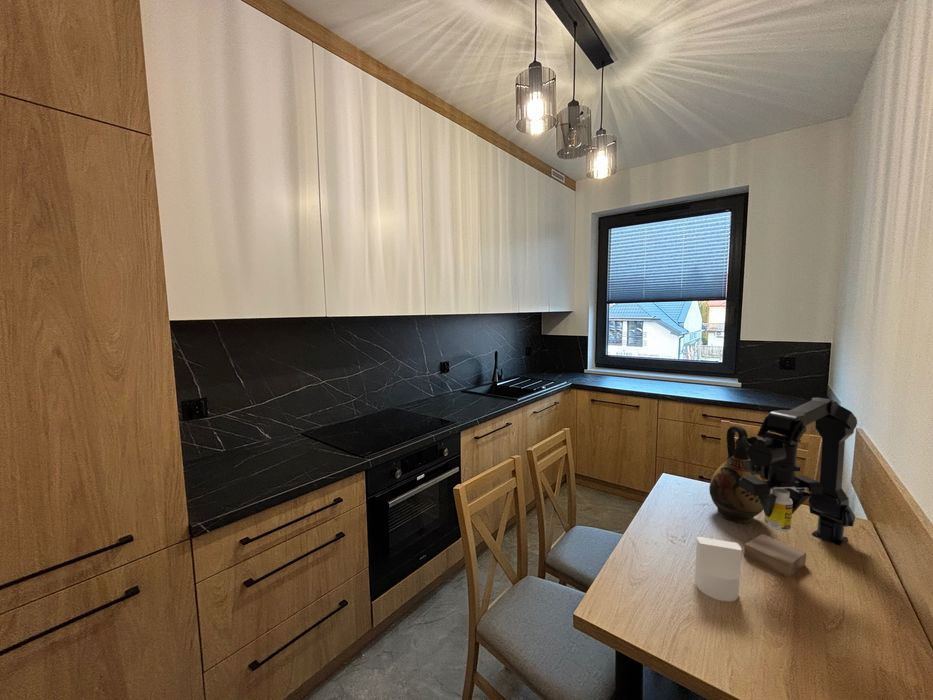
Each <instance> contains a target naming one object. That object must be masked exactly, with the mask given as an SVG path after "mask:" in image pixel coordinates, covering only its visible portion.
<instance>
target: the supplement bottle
mask: <svg viewBox="0 0 933 700" xmlns="http://www.w3.org/2000/svg"><path fill="white" fill-rule="evenodd" d="M772 494H773V495H775V496H777V498H776V501H775V504H774V507H773V510H772V513H771V515H770V517H768V516H766V515H765V514H764V524H765V525H766V526H768V527H770V528H771V529H773V530H776V531H782V532H788V531H790V530H791V527H792V518H793V514H792V507H793V501H792V499H790V498H789V497H790V492H789V491H788V490H786V489H773V492H772Z"/></svg>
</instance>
